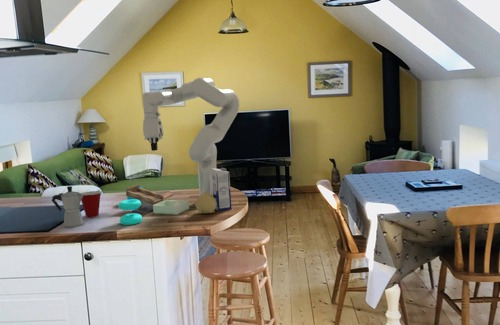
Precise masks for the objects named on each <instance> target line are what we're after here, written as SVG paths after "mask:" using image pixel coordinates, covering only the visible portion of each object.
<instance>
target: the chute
mask: <svg viewBox="0 0 500 325" xmlns="http://www.w3.org/2000/svg"><path fill="white" fill-rule="evenodd" d="M139 186H140V184H135V185H131V186H129V187H126V188H127V191H126V190H125V191H126V193H125V196H126V197H127V196H129V197H132V198H135V199H138V200H140V201H143V202H146V203H149V204H152V205H155V204H158V203H160V202H162V201H165V200H167V199H169V198H171V197H174V194H173V193H172V192H165V193H164V194H160V193H157V192H154V191H152V190H148V189H145V188H143V187H142V188H139Z"/></svg>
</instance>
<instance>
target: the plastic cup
mask: <svg viewBox="0 0 500 325" xmlns="http://www.w3.org/2000/svg"><path fill="white" fill-rule="evenodd" d="M102 192H103V191H101V190H92V191H84V192H83V191H82V192H79V193H80V194H84V195H83V197H82V200H81V205H82V208H83V211H84V214H85V217H86V218H97V217H99V214H100V203H101V202H100V201H101V195H102Z"/></svg>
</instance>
